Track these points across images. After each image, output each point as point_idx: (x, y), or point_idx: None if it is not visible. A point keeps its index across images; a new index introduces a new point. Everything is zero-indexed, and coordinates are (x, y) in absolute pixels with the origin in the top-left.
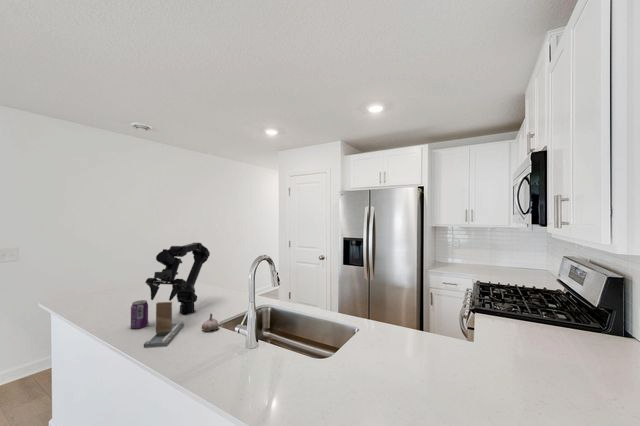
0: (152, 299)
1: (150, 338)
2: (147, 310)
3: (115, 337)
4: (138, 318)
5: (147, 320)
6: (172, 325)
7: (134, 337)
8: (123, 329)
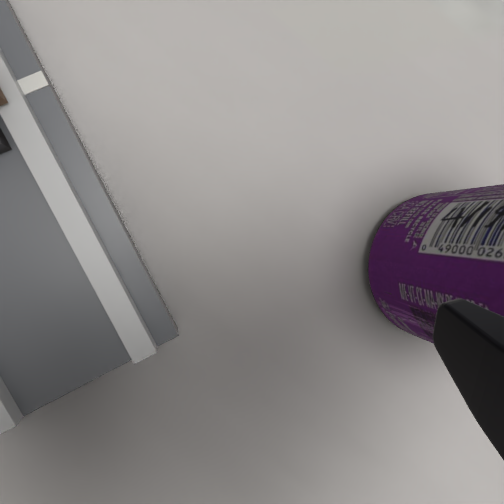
0: (439, 330)
1: None
2: None
3: (415, 17)
4: (443, 211)
5: (396, 310)
6: (59, 349)
7: (254, 61)
8: (500, 168)
